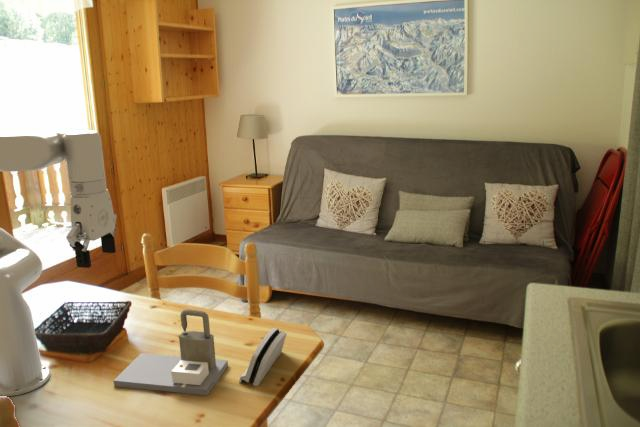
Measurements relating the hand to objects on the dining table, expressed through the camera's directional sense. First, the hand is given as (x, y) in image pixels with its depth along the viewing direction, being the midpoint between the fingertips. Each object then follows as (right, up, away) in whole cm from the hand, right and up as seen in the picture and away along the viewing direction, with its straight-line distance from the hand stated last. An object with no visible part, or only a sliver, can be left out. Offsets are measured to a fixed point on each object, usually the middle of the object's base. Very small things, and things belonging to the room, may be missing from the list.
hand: (97, 259), depth 127 cm
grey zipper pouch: (+38, -28, +12) cm, 49 cm away
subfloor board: (+15, -29, +10) cm, 34 cm away
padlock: (+21, -27, +11) cm, 36 cm away
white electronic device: (+20, -29, +5) cm, 36 cm away
